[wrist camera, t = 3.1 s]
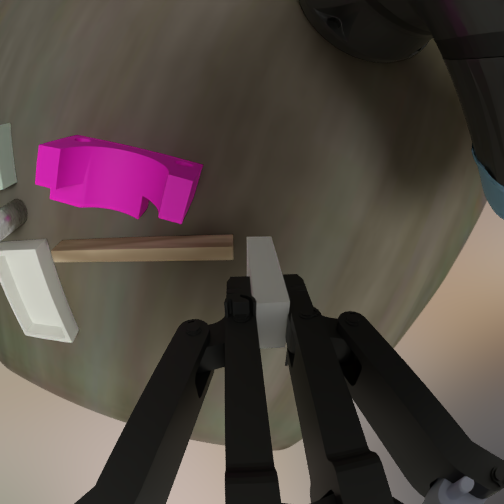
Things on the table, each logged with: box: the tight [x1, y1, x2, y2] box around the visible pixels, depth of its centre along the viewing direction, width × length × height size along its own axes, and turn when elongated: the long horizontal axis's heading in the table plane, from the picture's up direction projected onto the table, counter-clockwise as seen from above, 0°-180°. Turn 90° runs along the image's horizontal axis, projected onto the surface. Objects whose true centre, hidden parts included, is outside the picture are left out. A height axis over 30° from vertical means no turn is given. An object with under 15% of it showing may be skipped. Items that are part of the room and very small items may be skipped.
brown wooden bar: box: [51, 234, 233, 262], centre depth 30 cm, size 2×22×3 cm, turn 90°
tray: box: [0, 239, 79, 343], centre depth 32 cm, size 16×11×3 cm
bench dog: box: [0, 199, 27, 241], centre depth 25 cm, size 4×4×6 cm
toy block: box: [35, 135, 203, 224], centre depth 25 cm, size 15×6×8 cm, turn 71°
